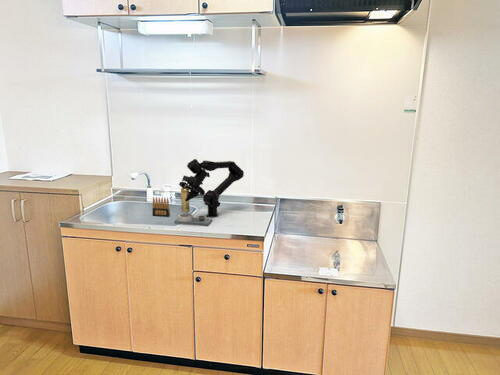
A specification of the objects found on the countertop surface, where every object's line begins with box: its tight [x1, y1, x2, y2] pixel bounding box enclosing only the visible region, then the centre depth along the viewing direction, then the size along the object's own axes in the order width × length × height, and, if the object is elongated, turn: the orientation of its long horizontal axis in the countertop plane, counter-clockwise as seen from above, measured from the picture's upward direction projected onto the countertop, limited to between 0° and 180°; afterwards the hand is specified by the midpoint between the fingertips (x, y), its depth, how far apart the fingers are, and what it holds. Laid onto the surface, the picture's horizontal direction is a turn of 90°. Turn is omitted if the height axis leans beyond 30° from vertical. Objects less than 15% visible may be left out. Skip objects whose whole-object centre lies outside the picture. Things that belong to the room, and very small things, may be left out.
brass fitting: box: [180, 187, 191, 213], centre depth 213 cm, size 4×4×13 cm
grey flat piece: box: [173, 212, 213, 227], centre depth 215 cm, size 9×20×4 cm, turn 80°
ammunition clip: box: [152, 196, 171, 218], centre depth 225 cm, size 11×2×12 cm, turn 80°
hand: (183, 200), depth 212 cm, fingers closed on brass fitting, 4 cm apart
